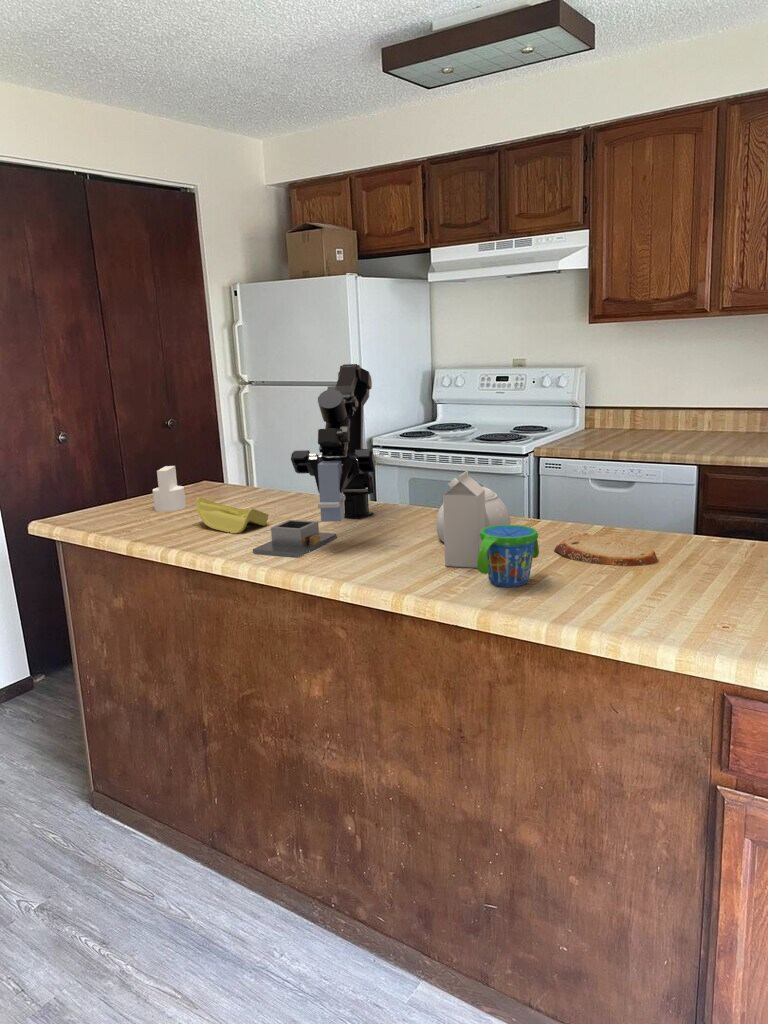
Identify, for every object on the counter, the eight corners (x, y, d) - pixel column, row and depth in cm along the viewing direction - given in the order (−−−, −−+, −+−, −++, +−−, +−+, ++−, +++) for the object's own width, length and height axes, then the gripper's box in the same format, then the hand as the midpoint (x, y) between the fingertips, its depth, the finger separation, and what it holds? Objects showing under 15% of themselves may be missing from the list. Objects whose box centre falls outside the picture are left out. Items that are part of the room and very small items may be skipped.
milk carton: (486, 559, 164) (484, 470, 160) (478, 568, 157) (477, 476, 153) (453, 557, 166) (451, 469, 162) (444, 566, 160) (442, 475, 155)
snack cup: (518, 568, 156) (518, 519, 154) (558, 580, 148) (558, 528, 146) (459, 584, 148) (458, 532, 145) (498, 598, 139) (497, 543, 137)
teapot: (529, 536, 181) (529, 478, 178) (482, 553, 168) (481, 492, 165) (465, 525, 194) (464, 471, 191) (417, 541, 181) (415, 484, 178)
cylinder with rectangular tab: (181, 511, 226) (177, 470, 223) (150, 512, 226) (146, 471, 223) (189, 504, 234) (185, 465, 232) (159, 505, 235) (155, 466, 232)
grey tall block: (327, 514, 181) (323, 459, 178) (346, 514, 180) (343, 459, 177) (319, 524, 172) (315, 466, 169) (339, 523, 171) (335, 465, 169)
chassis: (294, 534, 192) (292, 514, 191) (336, 537, 187) (335, 517, 186) (252, 553, 176) (251, 532, 175) (298, 557, 171) (297, 535, 170)
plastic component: (272, 516, 203) (248, 506, 195) (264, 543, 202) (239, 535, 194) (218, 504, 214) (193, 494, 206) (210, 530, 213) (185, 521, 205)
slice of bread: (664, 565, 155) (665, 547, 155) (578, 572, 153) (578, 554, 153) (626, 543, 173) (627, 526, 172) (548, 548, 171) (548, 532, 170)
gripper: (289, 415, 176) (280, 472, 168) (371, 413, 173) (366, 470, 165) (300, 445, 185) (292, 500, 177) (377, 443, 183) (373, 498, 175)
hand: (329, 491), depth 173 cm, fingers closed on grey tall block, 4 cm apart
